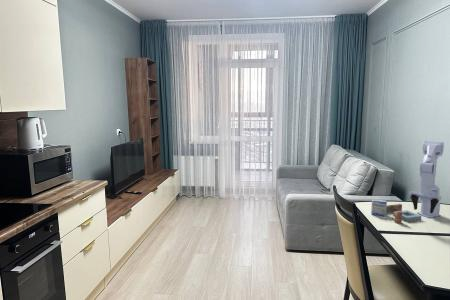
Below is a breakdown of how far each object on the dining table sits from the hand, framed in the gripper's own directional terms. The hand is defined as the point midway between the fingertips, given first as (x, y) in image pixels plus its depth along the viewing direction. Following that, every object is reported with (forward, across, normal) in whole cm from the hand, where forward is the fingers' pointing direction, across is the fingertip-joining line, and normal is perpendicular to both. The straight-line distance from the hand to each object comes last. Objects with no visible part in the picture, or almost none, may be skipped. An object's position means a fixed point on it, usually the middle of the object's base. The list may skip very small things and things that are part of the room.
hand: (423, 211), depth 168 cm
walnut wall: (+8, -23, +16) cm, 29 cm away
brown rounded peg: (+9, -12, 0) cm, 15 cm away
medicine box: (+9, -26, +5) cm, 28 cm away
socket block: (+8, -12, +11) cm, 18 cm away
